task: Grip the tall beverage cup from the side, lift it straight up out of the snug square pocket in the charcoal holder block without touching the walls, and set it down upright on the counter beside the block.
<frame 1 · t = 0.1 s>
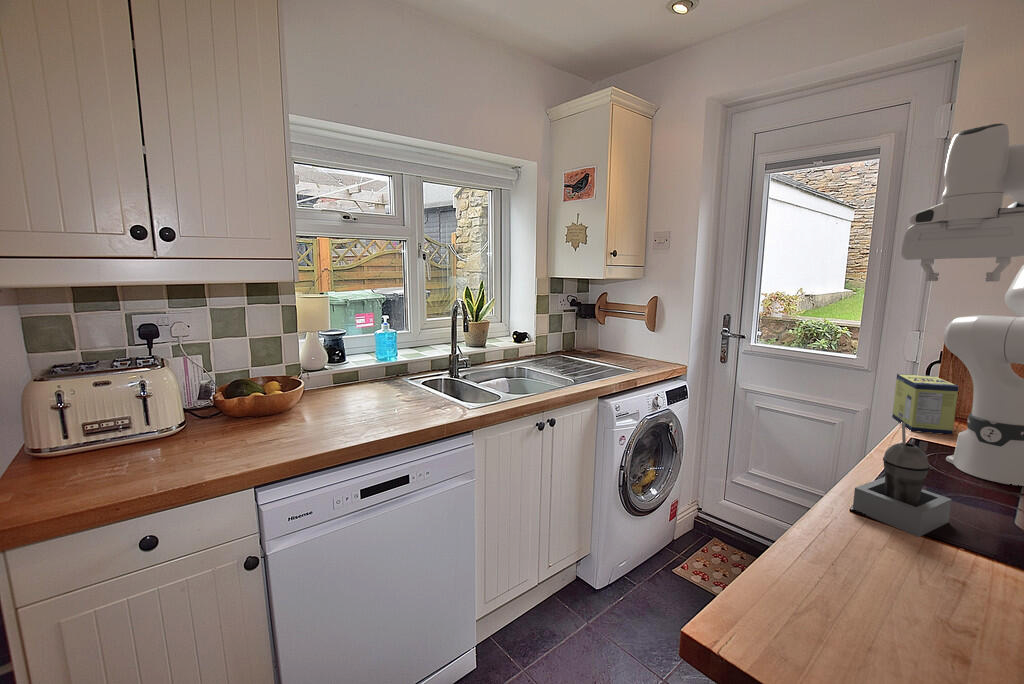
hand: (960, 281, 93), 48 cm above the worktop, tool pointing down, fingers open, 8 cm apart
beverage cup: (899, 516, 95), resting in holder block
protein box: (920, 426, 149), on the worktop
holder block: (899, 515, 95), on the worktop
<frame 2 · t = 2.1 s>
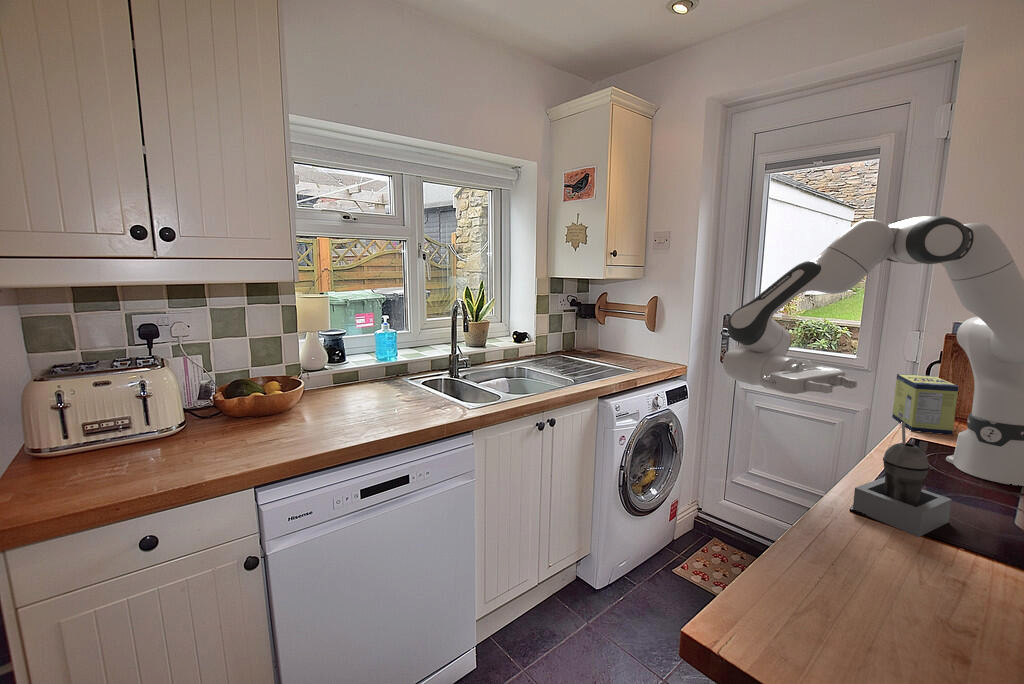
hand: (843, 387, 103), 25 cm above the worktop, tool horizontal, fingers open, 8 cm apart
nothing on the worktop moved.
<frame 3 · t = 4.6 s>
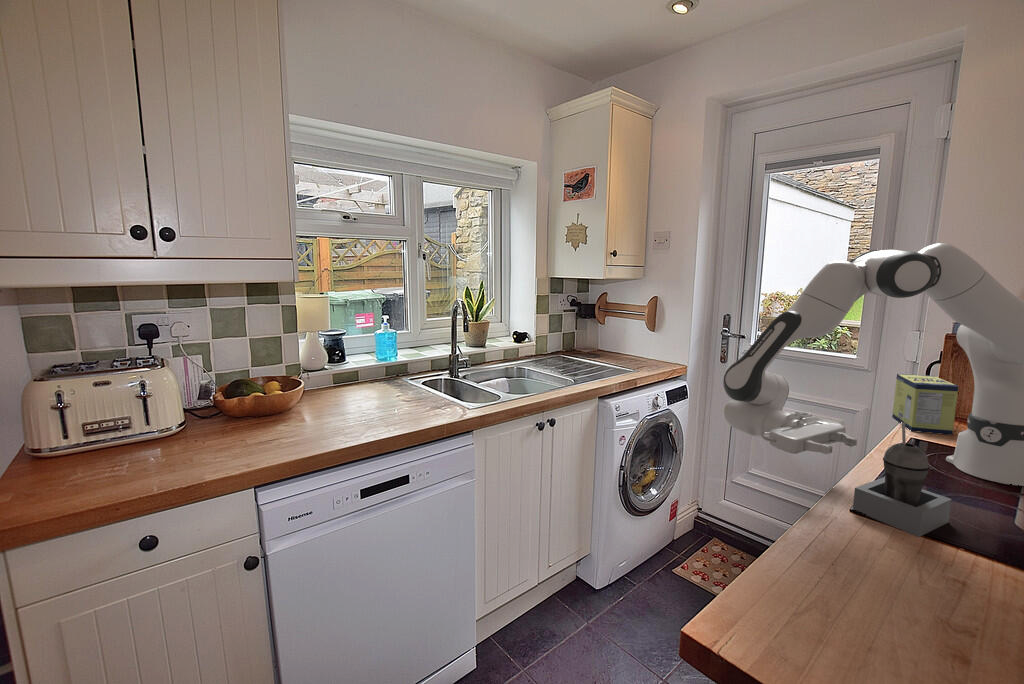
hand: (843, 446, 104), 11 cm above the worktop, tool horizontal, fingers open, 8 cm apart
nothing on the worktop moved.
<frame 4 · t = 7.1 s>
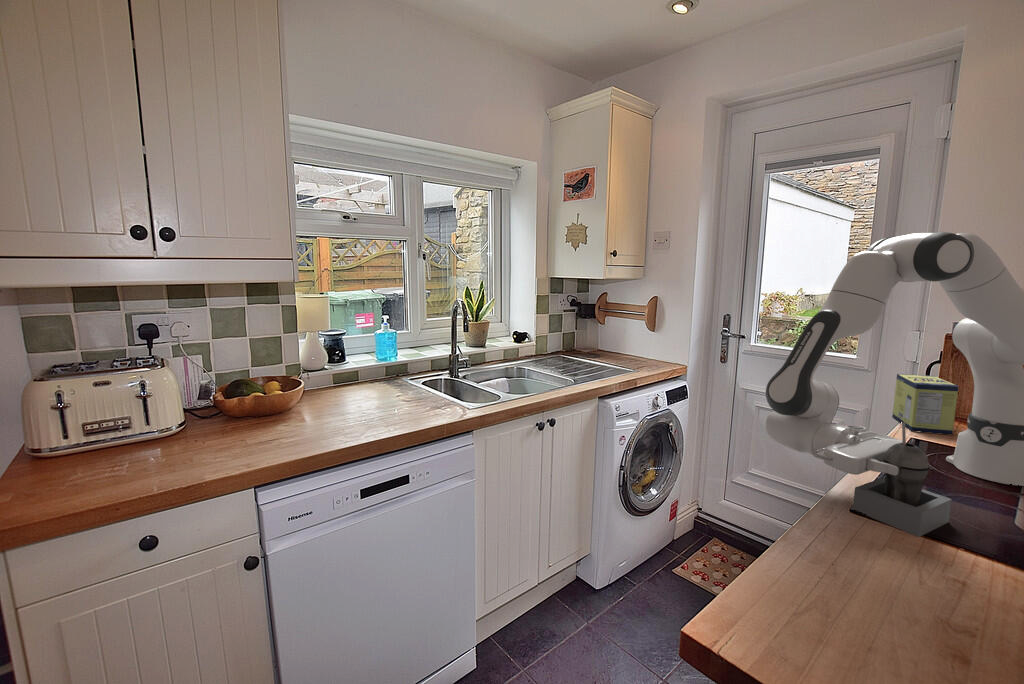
hand: (910, 467, 92), 11 cm above the worktop, tool horizontal, fingers closed on beverage cup, 7 cm apart
beverage cup: (899, 516, 95), resting in holder block, touching gripper
everything else where it was.
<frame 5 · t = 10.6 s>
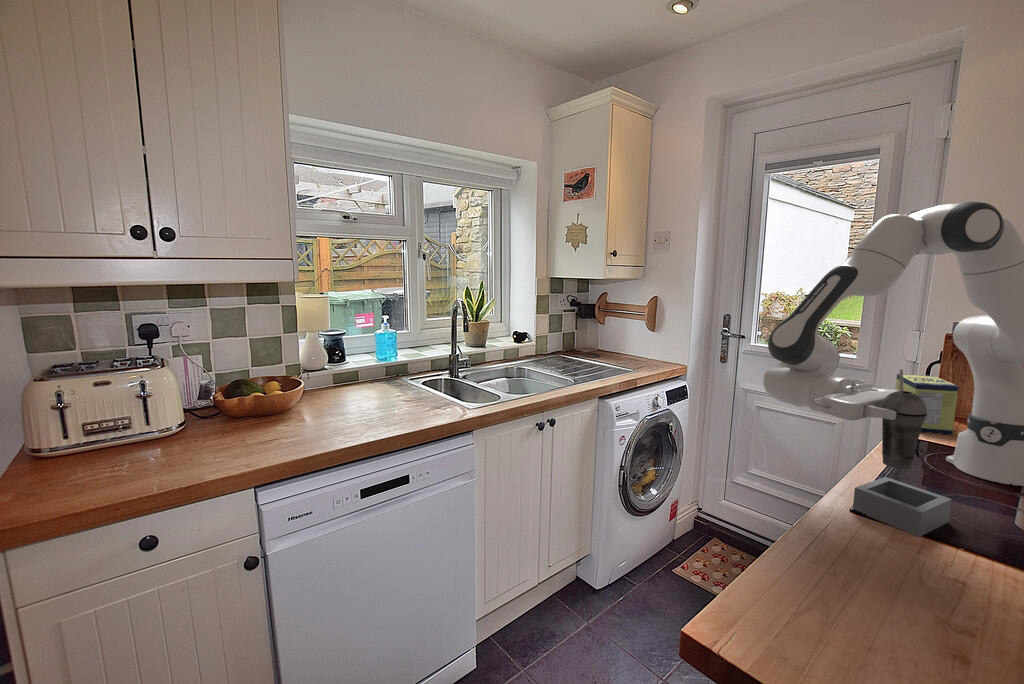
hand: (908, 412, 92), 22 cm above the worktop, tool horizontal, fingers closed on beverage cup, 7 cm apart
beverage cup: (896, 465, 95), point 10 cm above the worktop, touching gripper
everything else where it was.
when the fingers open (12 cm above the worktop, at t = 14.4 s): beverage cup stays where it is, on the worktop.
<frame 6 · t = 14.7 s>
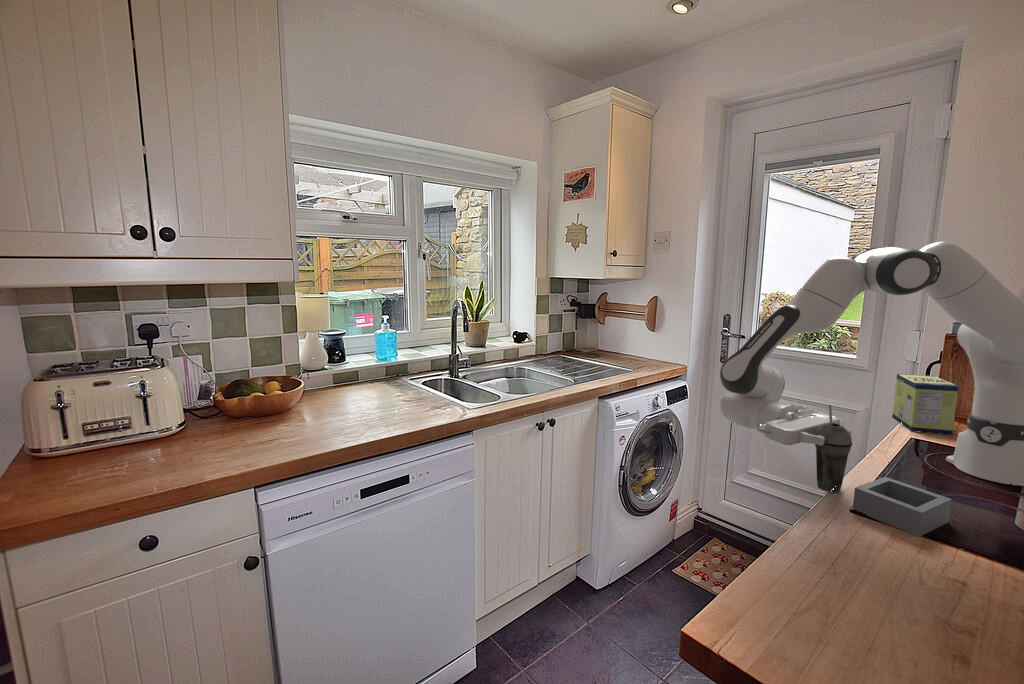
hand: (837, 438, 105), 12 cm above the worktop, tool horizontal, fingers open, 8 cm apart
beverage cup: (828, 488, 107), on the worktop
everything else where it was.
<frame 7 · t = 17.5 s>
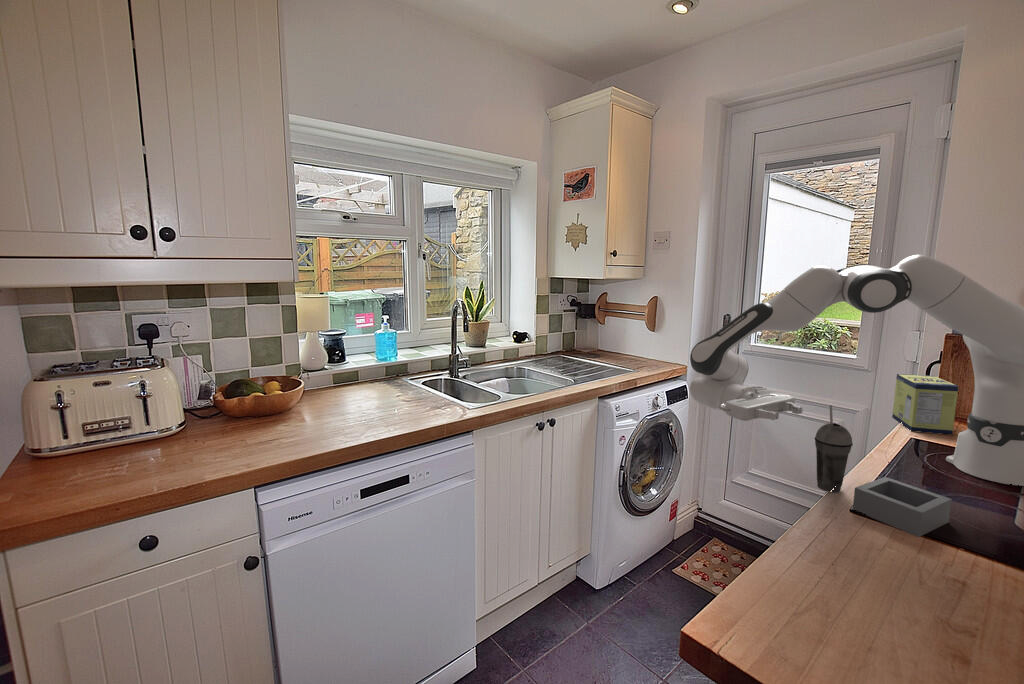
hand: (789, 413, 116), 15 cm above the worktop, tool horizontal, fingers open, 8 cm apart
nothing on the worktop moved.
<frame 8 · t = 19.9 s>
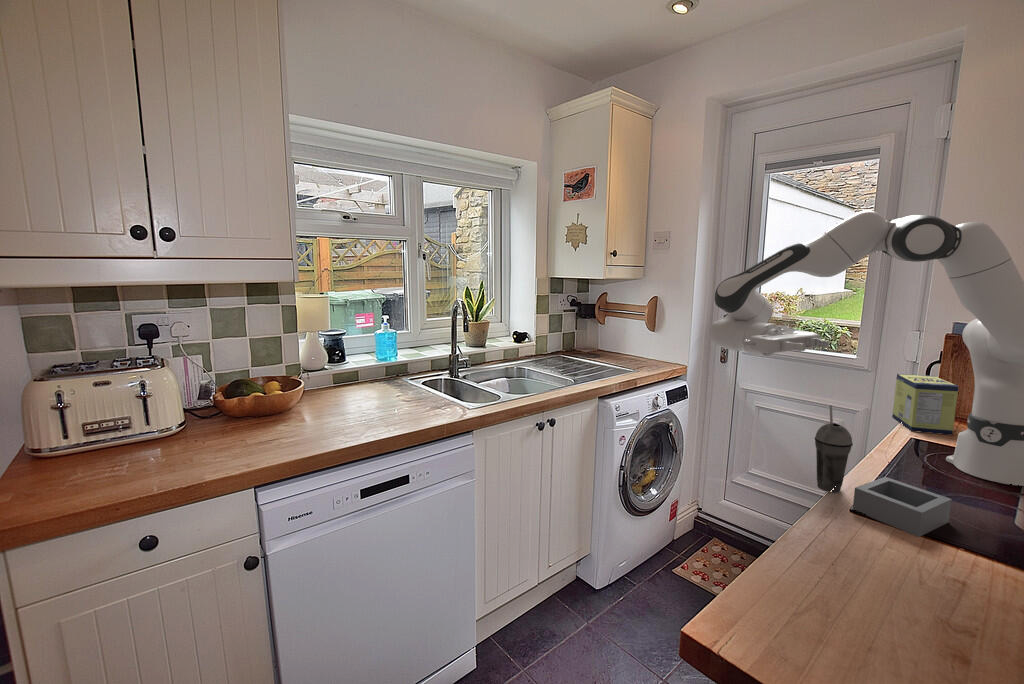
hand: (815, 346, 113), 32 cm above the worktop, tool horizontal, fingers open, 8 cm apart
nothing on the worktop moved.
at the end: beverage cup inside the target area (0.1 cm from its centre), on the worktop; beverage cup tilted 0°; the gripper is holding nothing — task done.
